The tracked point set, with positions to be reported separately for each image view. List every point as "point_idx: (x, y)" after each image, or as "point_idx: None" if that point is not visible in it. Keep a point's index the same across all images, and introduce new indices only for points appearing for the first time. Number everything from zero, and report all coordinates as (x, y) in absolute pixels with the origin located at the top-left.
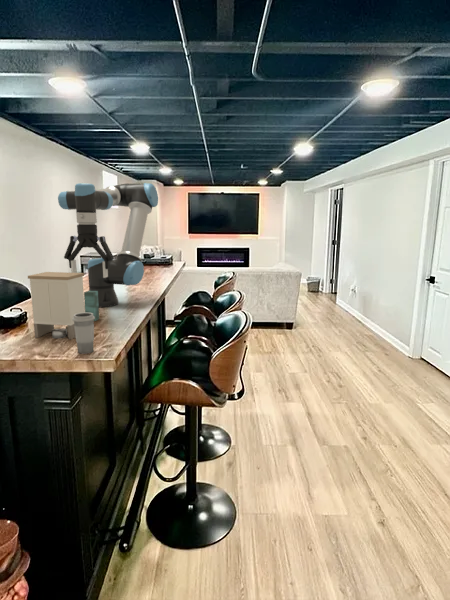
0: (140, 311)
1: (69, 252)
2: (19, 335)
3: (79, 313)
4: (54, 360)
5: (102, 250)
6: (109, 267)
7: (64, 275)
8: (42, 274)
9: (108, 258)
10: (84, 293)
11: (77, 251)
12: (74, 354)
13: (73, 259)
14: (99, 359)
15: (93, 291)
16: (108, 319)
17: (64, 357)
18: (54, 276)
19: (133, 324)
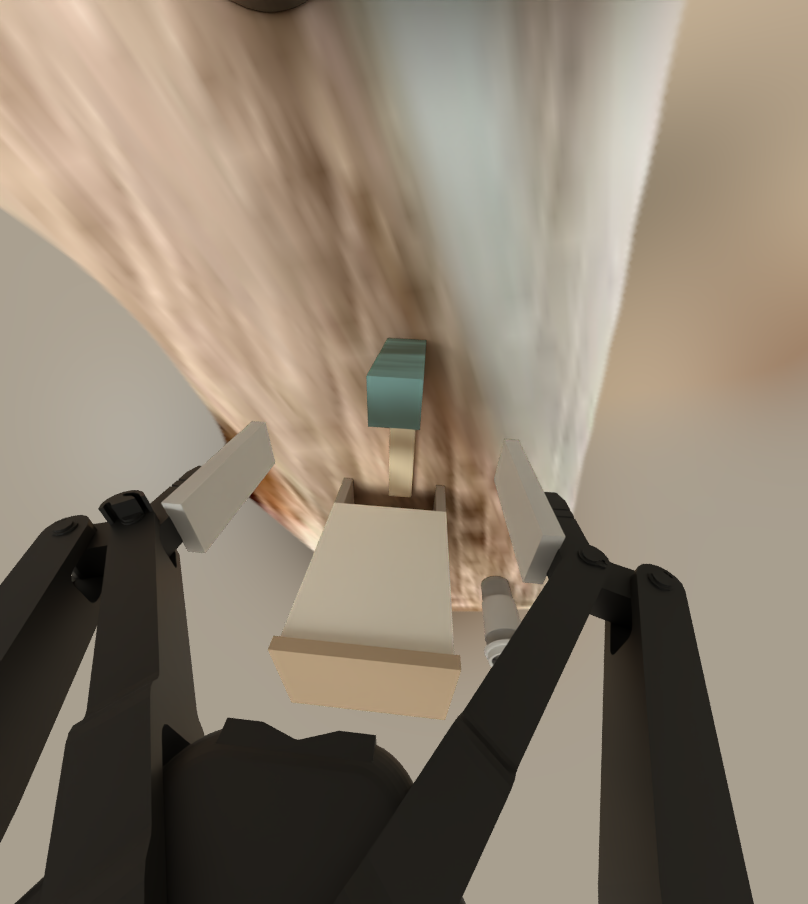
0: (613, 101)
1: (85, 622)
2: (305, 518)
3: (496, 655)
4: (458, 610)
5: (555, 683)
6: (565, 502)
7: (413, 703)
8: (315, 688)
9: (607, 620)
10: (371, 423)
11: (186, 653)
12: (479, 593)
13: (156, 515)
14: (529, 607)
15: (404, 395)
16: (466, 342)
17: (468, 602)
18: (391, 712)
19: (579, 403)
